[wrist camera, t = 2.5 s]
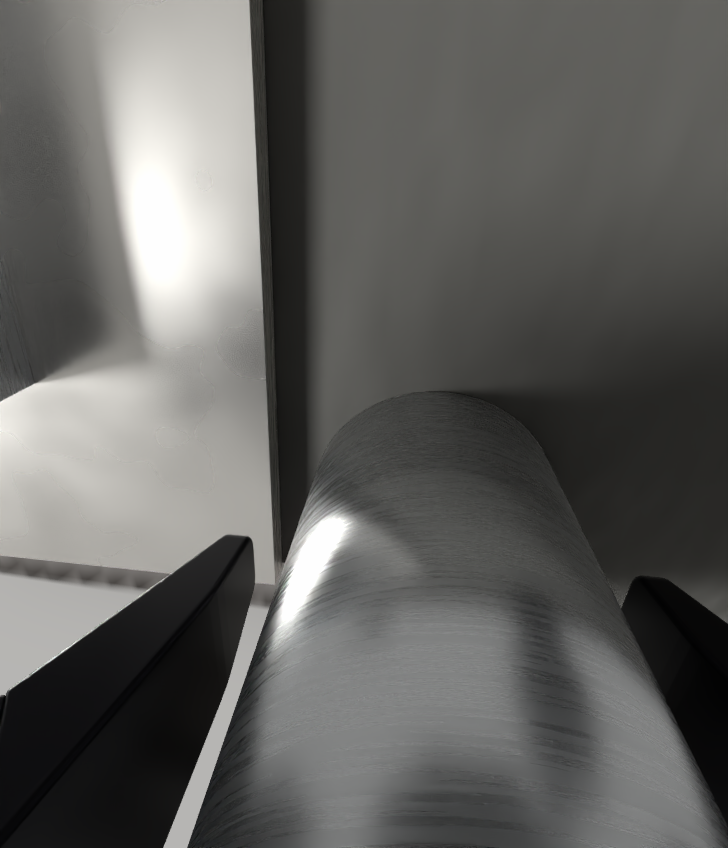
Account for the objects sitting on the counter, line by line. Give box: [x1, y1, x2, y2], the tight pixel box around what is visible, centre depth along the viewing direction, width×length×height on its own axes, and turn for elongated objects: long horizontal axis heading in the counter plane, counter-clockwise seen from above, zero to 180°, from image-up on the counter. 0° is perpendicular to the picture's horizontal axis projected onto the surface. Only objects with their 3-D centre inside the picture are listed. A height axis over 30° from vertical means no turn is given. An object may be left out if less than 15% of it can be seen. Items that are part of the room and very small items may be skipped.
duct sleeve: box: [187, 392, 728, 848], centre depth 6 cm, size 5×5×8 cm
